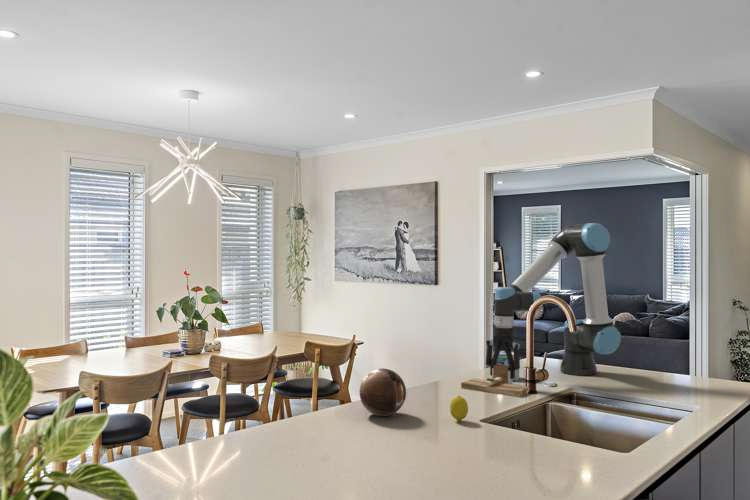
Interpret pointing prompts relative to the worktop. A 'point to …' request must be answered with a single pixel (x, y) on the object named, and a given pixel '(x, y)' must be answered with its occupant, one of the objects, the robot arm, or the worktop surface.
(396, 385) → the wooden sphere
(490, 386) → the board
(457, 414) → the lemon
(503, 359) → the light bulb box
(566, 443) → the worktop surface
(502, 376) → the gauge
